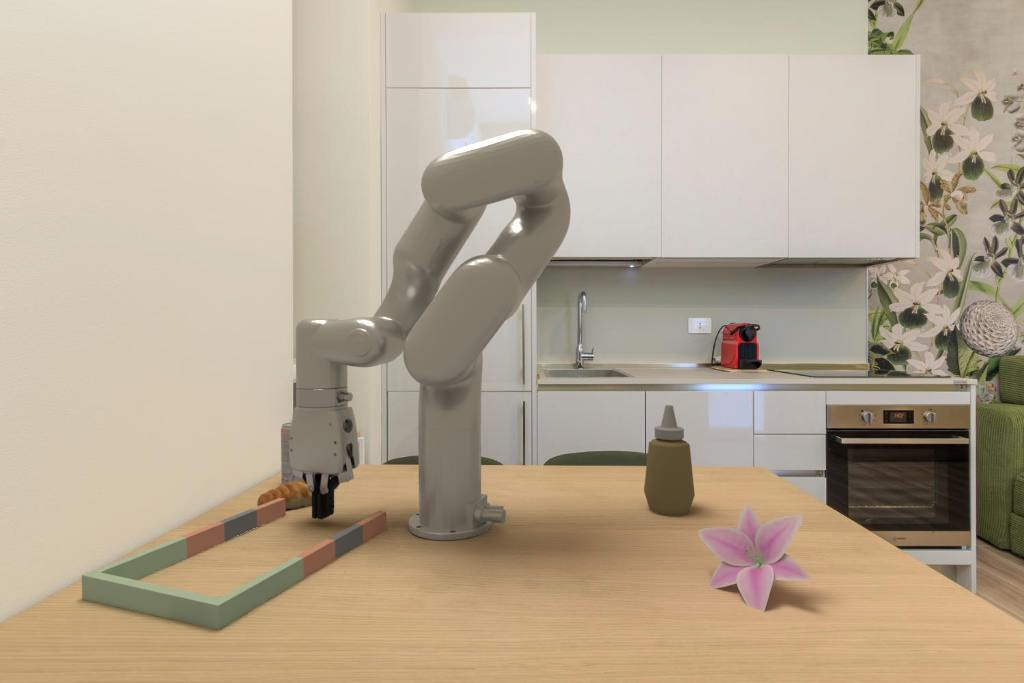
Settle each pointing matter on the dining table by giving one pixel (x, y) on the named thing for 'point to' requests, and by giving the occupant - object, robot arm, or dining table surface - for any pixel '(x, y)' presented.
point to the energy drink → (286, 456)
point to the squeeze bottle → (669, 469)
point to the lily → (754, 555)
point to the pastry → (289, 495)
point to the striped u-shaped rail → (122, 576)
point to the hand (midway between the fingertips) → (323, 516)
